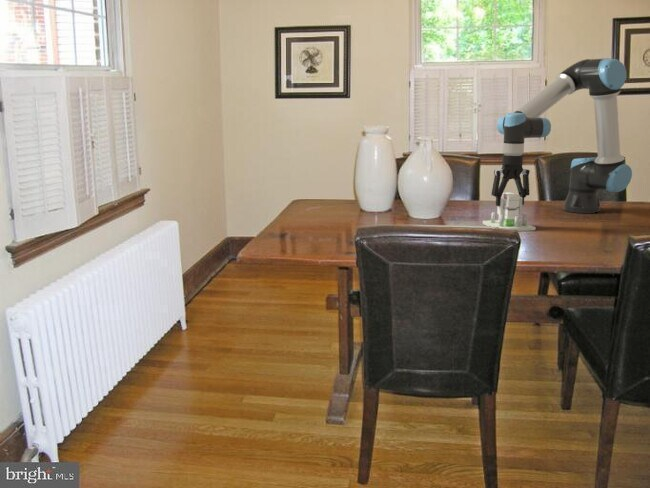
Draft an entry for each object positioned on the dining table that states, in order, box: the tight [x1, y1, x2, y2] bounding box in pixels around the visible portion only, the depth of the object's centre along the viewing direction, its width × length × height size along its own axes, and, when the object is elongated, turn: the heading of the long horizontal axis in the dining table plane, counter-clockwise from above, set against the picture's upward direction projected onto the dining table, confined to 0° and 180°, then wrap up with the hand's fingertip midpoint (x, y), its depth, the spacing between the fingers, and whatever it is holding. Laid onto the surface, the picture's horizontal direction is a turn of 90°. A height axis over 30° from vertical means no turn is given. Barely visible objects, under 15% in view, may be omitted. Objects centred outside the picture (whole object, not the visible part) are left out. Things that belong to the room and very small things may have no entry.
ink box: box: [497, 192, 520, 226], centre depth 270 cm, size 9×5×12 cm, turn 9°
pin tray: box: [482, 211, 536, 232], centre depth 271 cm, size 14×16×5 cm
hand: (509, 213), depth 270 cm, fingers open, 7 cm apart
